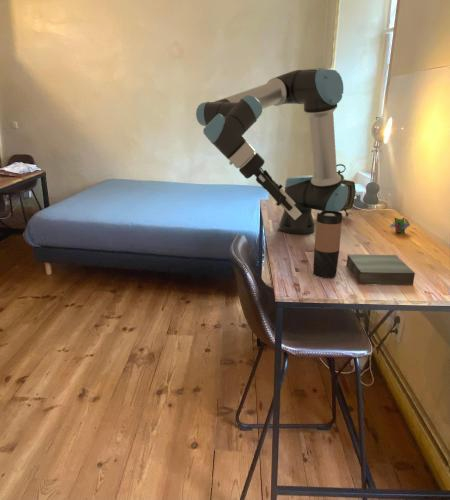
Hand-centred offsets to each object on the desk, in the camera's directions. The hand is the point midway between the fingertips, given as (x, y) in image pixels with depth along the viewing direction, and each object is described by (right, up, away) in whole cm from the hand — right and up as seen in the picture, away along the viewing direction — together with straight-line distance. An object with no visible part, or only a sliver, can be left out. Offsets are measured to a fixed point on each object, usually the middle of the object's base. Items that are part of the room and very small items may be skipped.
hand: (295, 211), depth 130 cm
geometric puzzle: (+52, -5, +51) cm, 73 cm away
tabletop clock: (+32, +5, +78) cm, 85 cm away
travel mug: (+10, -20, +7) cm, 23 cm away
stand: (+27, -20, +6) cm, 34 cm away
